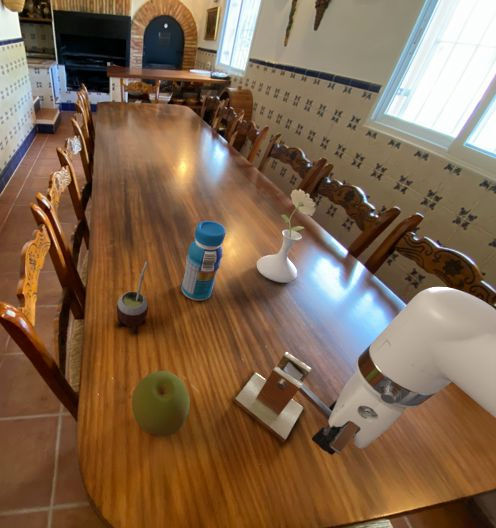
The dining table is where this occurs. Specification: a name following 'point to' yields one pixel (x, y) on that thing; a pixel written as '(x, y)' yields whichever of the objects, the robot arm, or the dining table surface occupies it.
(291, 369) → the lever
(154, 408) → the apple
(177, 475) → the dining table surface
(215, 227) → the beverage bottle
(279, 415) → the bracket
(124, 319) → the mate gourd
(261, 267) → the flower in vase
